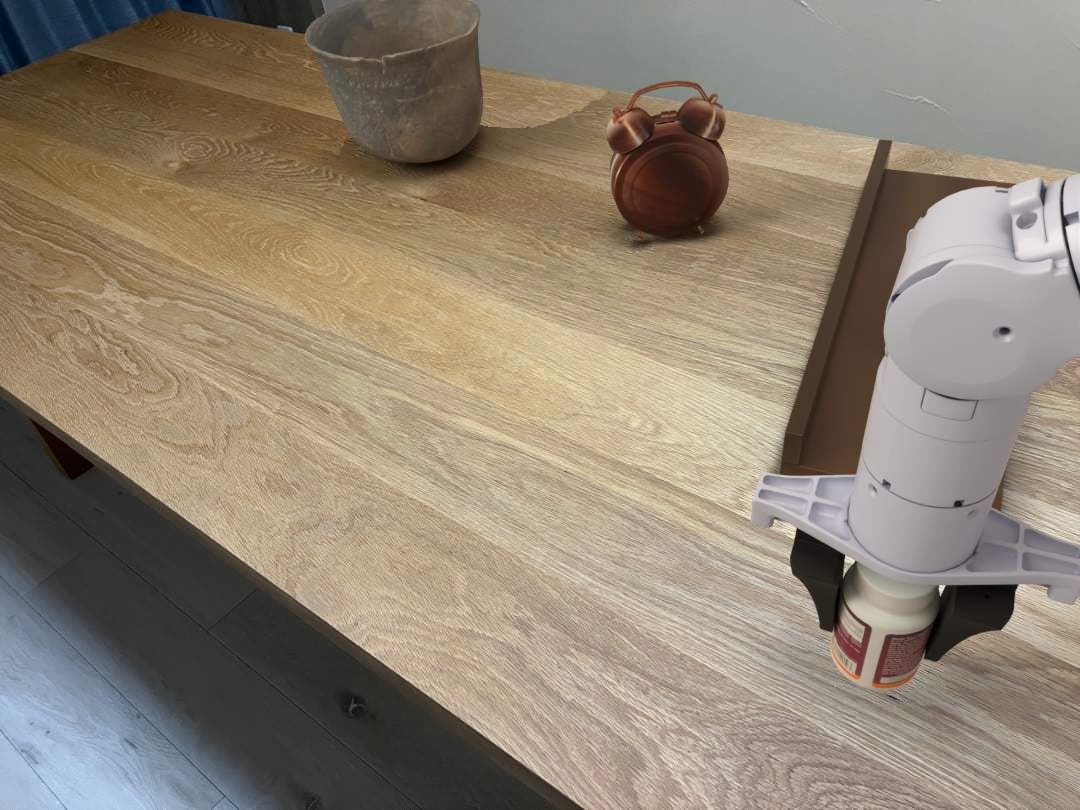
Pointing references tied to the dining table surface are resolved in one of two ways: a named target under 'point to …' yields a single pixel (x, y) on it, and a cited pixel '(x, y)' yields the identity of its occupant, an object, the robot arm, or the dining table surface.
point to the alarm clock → (668, 163)
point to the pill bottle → (881, 628)
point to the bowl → (403, 74)
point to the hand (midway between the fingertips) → (880, 630)
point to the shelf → (860, 320)
